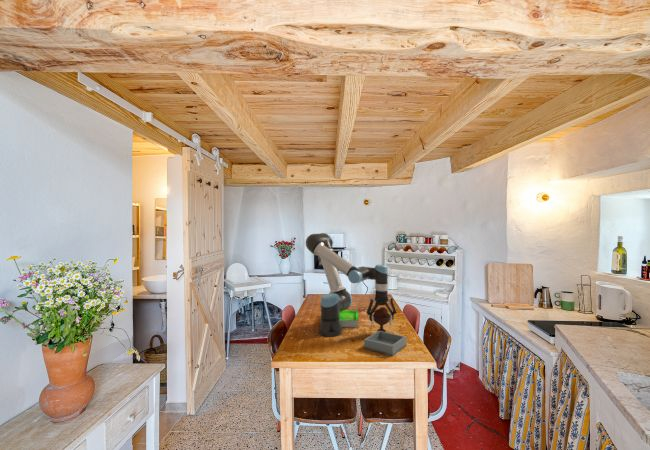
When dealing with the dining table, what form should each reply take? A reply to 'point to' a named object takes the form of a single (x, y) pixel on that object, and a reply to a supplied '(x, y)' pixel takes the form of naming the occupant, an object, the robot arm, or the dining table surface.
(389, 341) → the charcoal tray
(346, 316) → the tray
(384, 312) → the ice cream bowl
